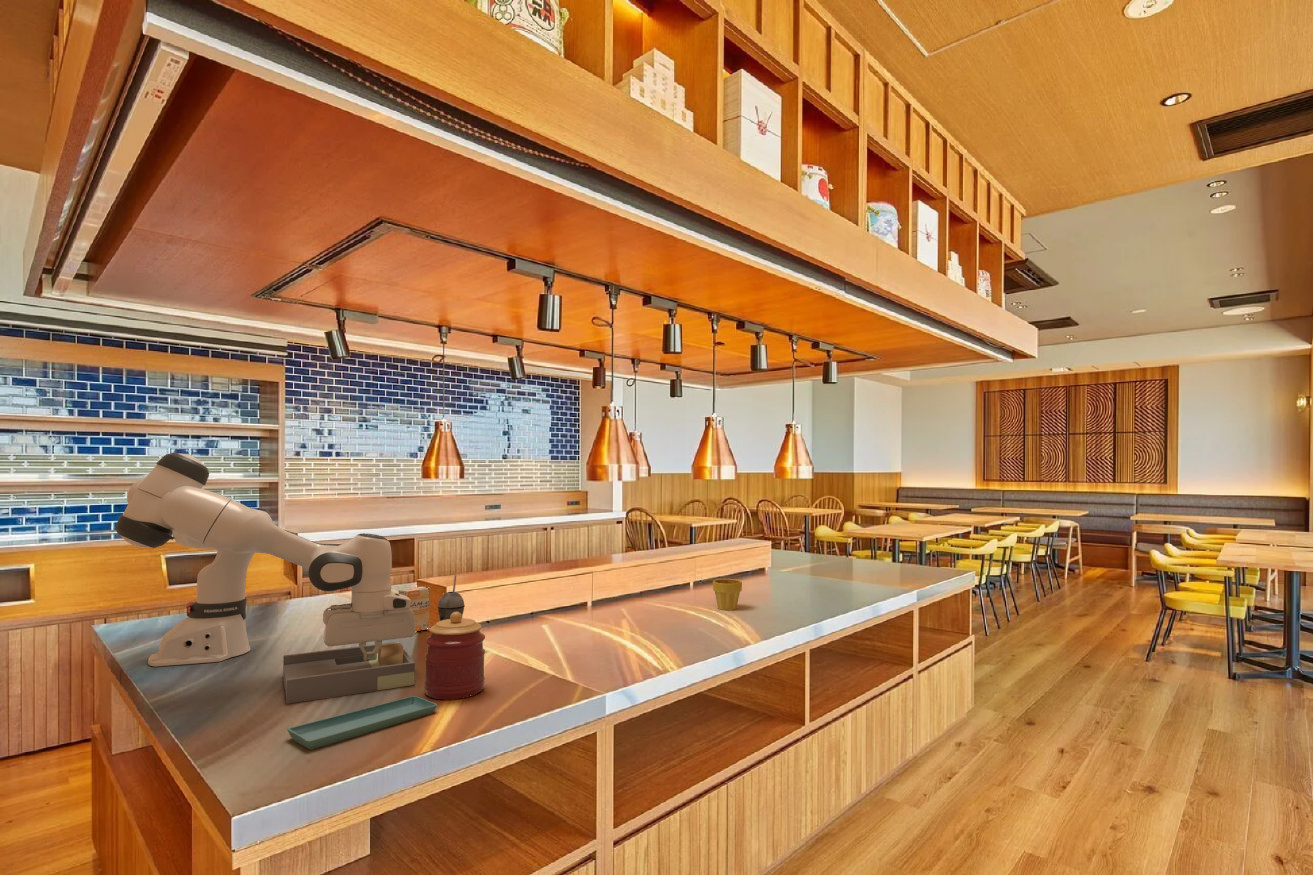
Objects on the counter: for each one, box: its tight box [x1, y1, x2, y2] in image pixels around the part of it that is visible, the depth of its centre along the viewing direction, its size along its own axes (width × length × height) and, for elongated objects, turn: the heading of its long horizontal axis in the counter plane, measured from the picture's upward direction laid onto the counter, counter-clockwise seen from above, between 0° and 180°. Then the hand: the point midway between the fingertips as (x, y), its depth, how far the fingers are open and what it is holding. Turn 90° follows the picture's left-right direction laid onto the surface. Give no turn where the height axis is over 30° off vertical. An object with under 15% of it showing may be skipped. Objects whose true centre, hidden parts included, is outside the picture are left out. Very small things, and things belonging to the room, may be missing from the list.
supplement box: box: [398, 586, 430, 631], centre depth 210 cm, size 8×5×13 cm, turn 143°
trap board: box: [282, 641, 416, 705], centre depth 162 cm, size 26×22×5 cm
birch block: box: [378, 641, 404, 666], centre depth 166 cm, size 5×5×4 cm
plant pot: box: [712, 578, 743, 611], centre depth 246 cm, size 10×10×10 cm
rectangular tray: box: [286, 695, 438, 751], centre depth 134 cm, size 26×9×2 cm, turn 140°
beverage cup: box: [437, 574, 465, 621], centre depth 191 cm, size 7×7×20 cm
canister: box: [424, 612, 486, 701], centre depth 155 cm, size 13×13×18 cm
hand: (370, 660), depth 164 cm, fingers closed
